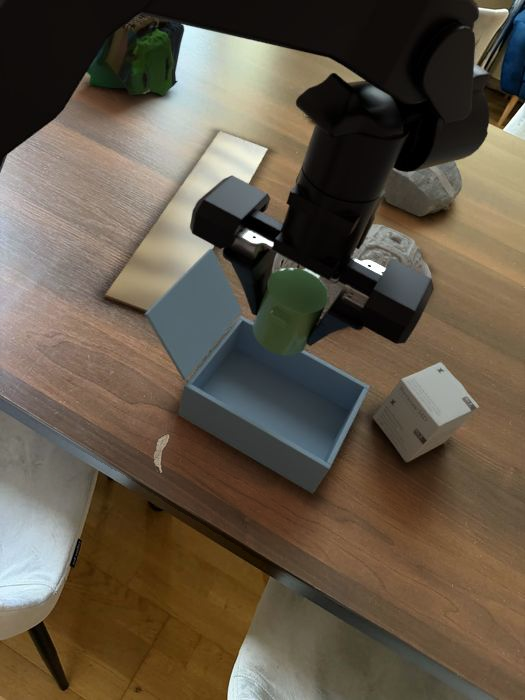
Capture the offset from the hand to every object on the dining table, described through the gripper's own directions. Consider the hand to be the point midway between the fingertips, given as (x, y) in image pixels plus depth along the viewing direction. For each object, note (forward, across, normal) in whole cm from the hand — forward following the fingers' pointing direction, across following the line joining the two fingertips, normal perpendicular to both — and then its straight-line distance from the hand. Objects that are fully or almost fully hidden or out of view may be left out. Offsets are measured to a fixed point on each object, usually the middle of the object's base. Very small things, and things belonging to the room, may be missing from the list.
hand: (283, 326), depth 51 cm
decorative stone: (+12, -3, -51) cm, 52 cm away
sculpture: (+12, +45, -42) cm, 63 cm away
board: (+12, +20, -22) cm, 32 cm away
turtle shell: (+12, -1, -25) cm, 28 cm away
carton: (+12, -2, +1) cm, 12 cm away
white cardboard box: (+12, -16, -7) cm, 21 cm away
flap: (+3, +8, +1) cm, 8 cm away
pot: (+1, 0, 0) cm, 1 cm away
